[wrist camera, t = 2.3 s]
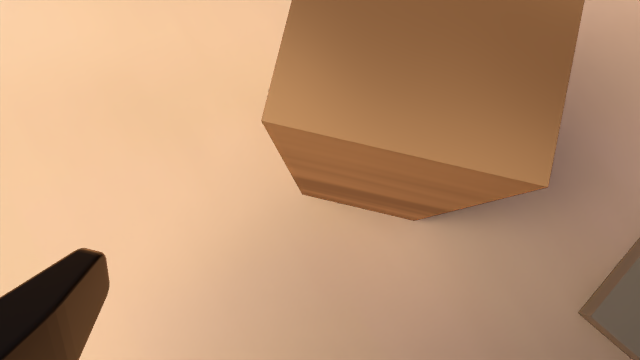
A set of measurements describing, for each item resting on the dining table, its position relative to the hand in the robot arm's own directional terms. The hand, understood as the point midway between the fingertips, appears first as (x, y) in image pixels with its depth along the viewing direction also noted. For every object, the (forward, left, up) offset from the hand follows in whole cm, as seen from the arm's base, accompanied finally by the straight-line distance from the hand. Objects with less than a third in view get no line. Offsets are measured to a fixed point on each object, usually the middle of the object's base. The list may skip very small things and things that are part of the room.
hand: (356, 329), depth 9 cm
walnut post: (+2, +5, -12) cm, 13 cm away
